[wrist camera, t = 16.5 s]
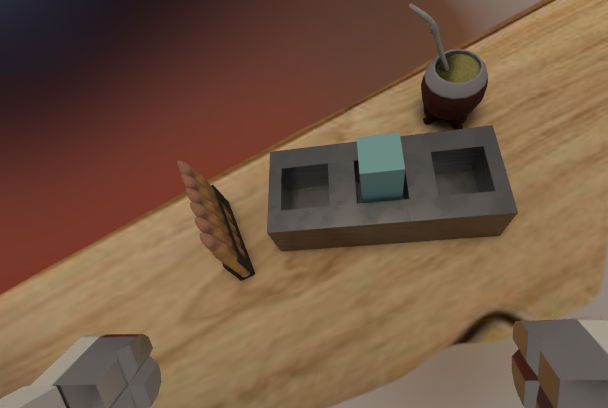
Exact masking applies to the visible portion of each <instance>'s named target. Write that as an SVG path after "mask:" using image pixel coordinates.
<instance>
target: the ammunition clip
mask: <svg viewBox="0 0 608 408" xmlns="http://www.w3.org/2000/svg"><path fill="white" fill-rule="evenodd" d="M177 164H178V166H179V169H180V171H181V172H182V175H181V176H182V180H183V182H184V184H185V185H186V187H187V188H186V193H187V196H188V197H189V199H190V200H191V203H190V206H191V209H192V211H193V213H194V214H195V215H196V216H197V217H196V218H195V223H196V225H197V227H198V228H199V229H200V231H201V232H202V233H201V234H200V239H201V241H202V243H203V244H204V245H205V246H206V247H207V248H208V249H209V250H210V251H211V252H212V254H213V255H214V256H215V257H216V258H217V259H218V260H220V261H221V262H222V264H223V267H224V268H225V269H227V270H228V271H229V272H231V273H232V274H233V275H234V276H236V277H237V278H238V279H240V280H241V281H242V280H244V279H246V278H248V277H250V276H252V275H254V274H255V272H254V269H253V267H252V264H251V261H250V258H249V256H248V253H247V250H246V248H245V245H244V242H243V239H242V237H241V234H240V231H239V229H238V226H237V223H236V220H235V218H234V215H233V212H232V210H231V207H230V204H229V202H228V201H227V200H226V199H225V198H224V196H223V195H222V194H221V193H220V192H219V191H218V190H217V189H216V188H215V187H214V185H212V186H211V185H210V184H209V183H208V182H207V181H206V180H205V179H204V178H203V177H202V176H201V175H199V174H198V173H197V172H196V171H195V170H194V169H193V168H192V167H190V166H189V165H188V164H186V163H185V162H183V161H180V160H178V161H177Z"/></svg>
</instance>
